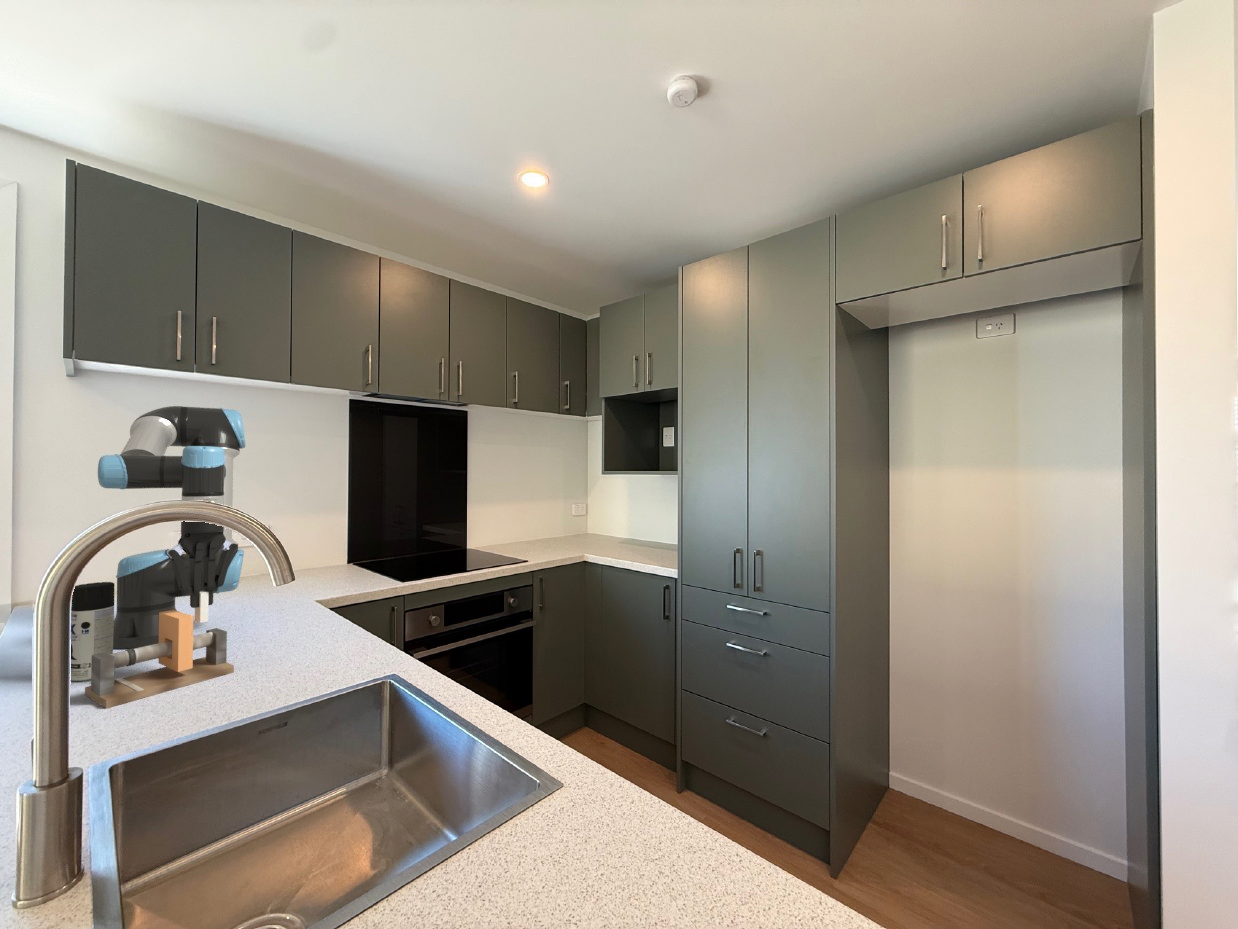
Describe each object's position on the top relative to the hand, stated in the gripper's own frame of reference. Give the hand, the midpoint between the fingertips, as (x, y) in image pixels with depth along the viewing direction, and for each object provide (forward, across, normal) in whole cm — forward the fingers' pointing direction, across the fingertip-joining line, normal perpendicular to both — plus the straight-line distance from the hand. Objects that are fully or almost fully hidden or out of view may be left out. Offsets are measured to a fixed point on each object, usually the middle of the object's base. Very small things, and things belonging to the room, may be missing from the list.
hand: (201, 621), depth 116 cm
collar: (+8, -5, 0) cm, 10 cm away
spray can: (+12, -13, +18) cm, 25 cm away
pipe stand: (+11, -7, 0) cm, 13 cm away
